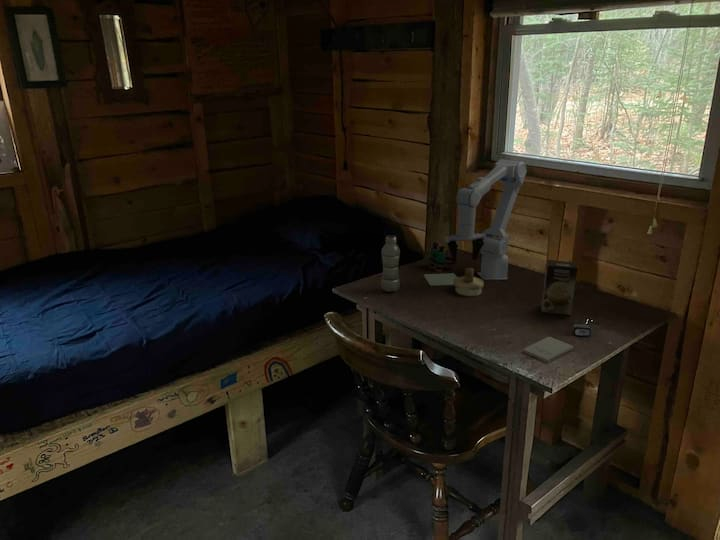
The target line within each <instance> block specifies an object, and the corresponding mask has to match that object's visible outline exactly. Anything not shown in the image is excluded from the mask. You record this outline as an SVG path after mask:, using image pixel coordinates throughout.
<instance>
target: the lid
mask: <svg viewBox="0 0 720 540" xmlns="http://www.w3.org/2000/svg"><path fill="white" fill-rule="evenodd" d="M474 271H475V269H474V268H473V267H466V268H464V275H463V276H457V278H455V279H454V282H453V284H454V285H453V286H454V287H455V288H456V287H457V288H460V289H465V290H477V289H480V288H482V289H483V288H484V283H485V281H484V279H482V278H479V277H476V276H474Z"/></svg>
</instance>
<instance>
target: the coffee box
mask: <svg viewBox="0 0 720 540" xmlns="http://www.w3.org/2000/svg"><path fill="white" fill-rule="evenodd" d="M545 265H546V266H545V272H544V280H543V281H544V282H543V288H542V295H541V296H542V297H541V303H540V308H541V312H543V313H551V314H559V315H566V316H567V315H568V316H569V315H570V316H571V315H572V308H573V301H574V294H575V288H576V287H575V286H576V281H577V275H578V264H577V262H574V261H566V260H565V261H563V260H556V259H555V260H554V259H547V260H546V264H545Z"/></svg>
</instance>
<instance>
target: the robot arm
mask: <svg viewBox="0 0 720 540" xmlns="http://www.w3.org/2000/svg"><path fill="white" fill-rule="evenodd" d="M526 175H527V166H526V163H525V162H524V161H516V160H509V159H508V160H507V159H503V158H501V159H498V161H495V164H494V167H493V169H492V170H490V172H489V173H488V174H487V175H485V176H484V177H482V176H480V177H477V178H476V180H475V181H473V182H472V183H471V184H469V185H468V186H466V187H465V188H464V187H463V188H461V189H459V190H458V191H457V193H456V197H455V202H456V205H457V207H456V209H457V210H458V217H457V218H458V219H457V233H455V234H450V235H445V236H444V242H445V243H446V245H447V247H448V249H449V252H450V256H451V258H452V261H451V262H456V263H457V252H458V248H459V244H457V242H469V241H471V242H472V254H471V255H472V256H471V257H472V258H471V260H473V261H477V259H478V256H479V253H480V254H481V265H480V266H481V267H480V271H479V272H477V274H478V275H479V277H480V279H481V280H483V281H484V280H497V281H501V280H502V281H503V280H508V279H509V278H508V270H509V257H508V255H507V254H506V253H507V252H508V247H509V240H510V238H509V236H508V234H507V233H506V232H505V231H506V228H507V226H508V222H509V220H510V217H511V213H512V211H513V208H514V205H515V202H516V200H517V197H518V193H519V190H520V189H521V188H520V187H522V186H523V183H524V180H525V178H526ZM496 182H500V184H502V185H503V186H504V187H503V189H502V190H503V191H502V194H501V196H500V199H499V203H498V205H497V209H496V211H495V213H494V217H493V219H492V223H491V225H490V227H488V228H486V229H484V230H483V232H482V233H475V227H476V226H475V224H476V209H477V206H478V205H479V204H480V201H481V200H482V198H483V196H485V195H486V194H487V193H488V192H490V191H491V189H492V186H493V184H495V183H496Z"/></svg>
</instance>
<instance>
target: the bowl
mask: <svg viewBox="0 0 720 540" xmlns="http://www.w3.org/2000/svg"><path fill="white" fill-rule="evenodd" d="M482 290H483V287H482V288H480V289H477V290H465V289H460V288H457V287H456V286H455V292H456V294H458V295H462V296H465V297H473V296H474V297H476V296H479V295H480V294H483V293H482Z"/></svg>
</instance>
